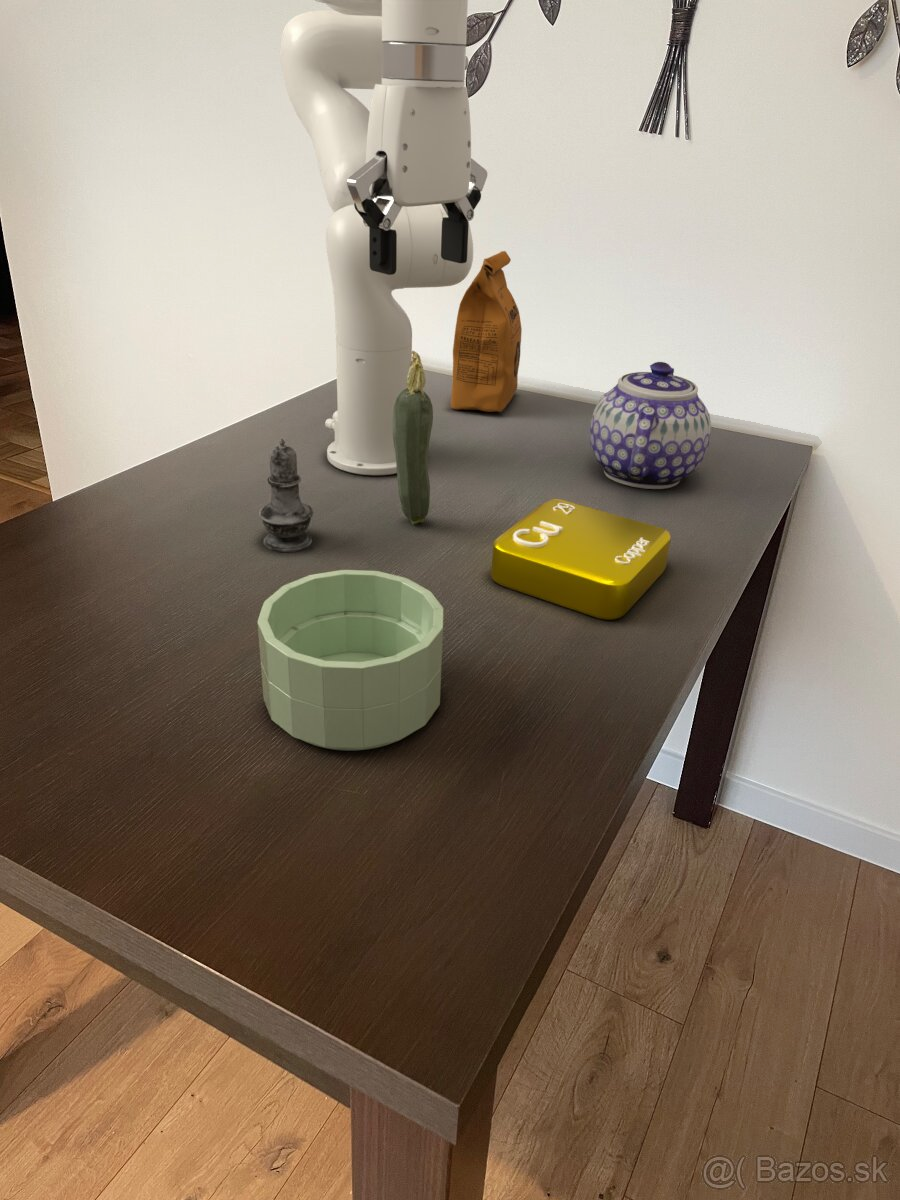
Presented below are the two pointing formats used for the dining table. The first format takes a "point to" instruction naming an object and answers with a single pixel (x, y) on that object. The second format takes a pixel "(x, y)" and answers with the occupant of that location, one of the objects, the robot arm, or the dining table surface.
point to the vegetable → (413, 443)
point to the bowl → (351, 658)
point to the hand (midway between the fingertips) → (419, 266)
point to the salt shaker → (285, 504)
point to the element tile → (581, 558)
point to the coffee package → (486, 341)
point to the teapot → (650, 429)
